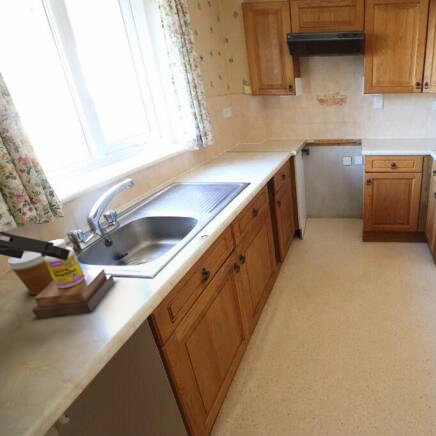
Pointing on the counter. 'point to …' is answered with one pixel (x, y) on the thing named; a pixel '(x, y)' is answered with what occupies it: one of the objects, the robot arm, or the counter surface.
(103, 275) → the board stack
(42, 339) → the counter surface
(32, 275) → the disposable coffee cup
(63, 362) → the counter surface
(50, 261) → the supplement bottle
